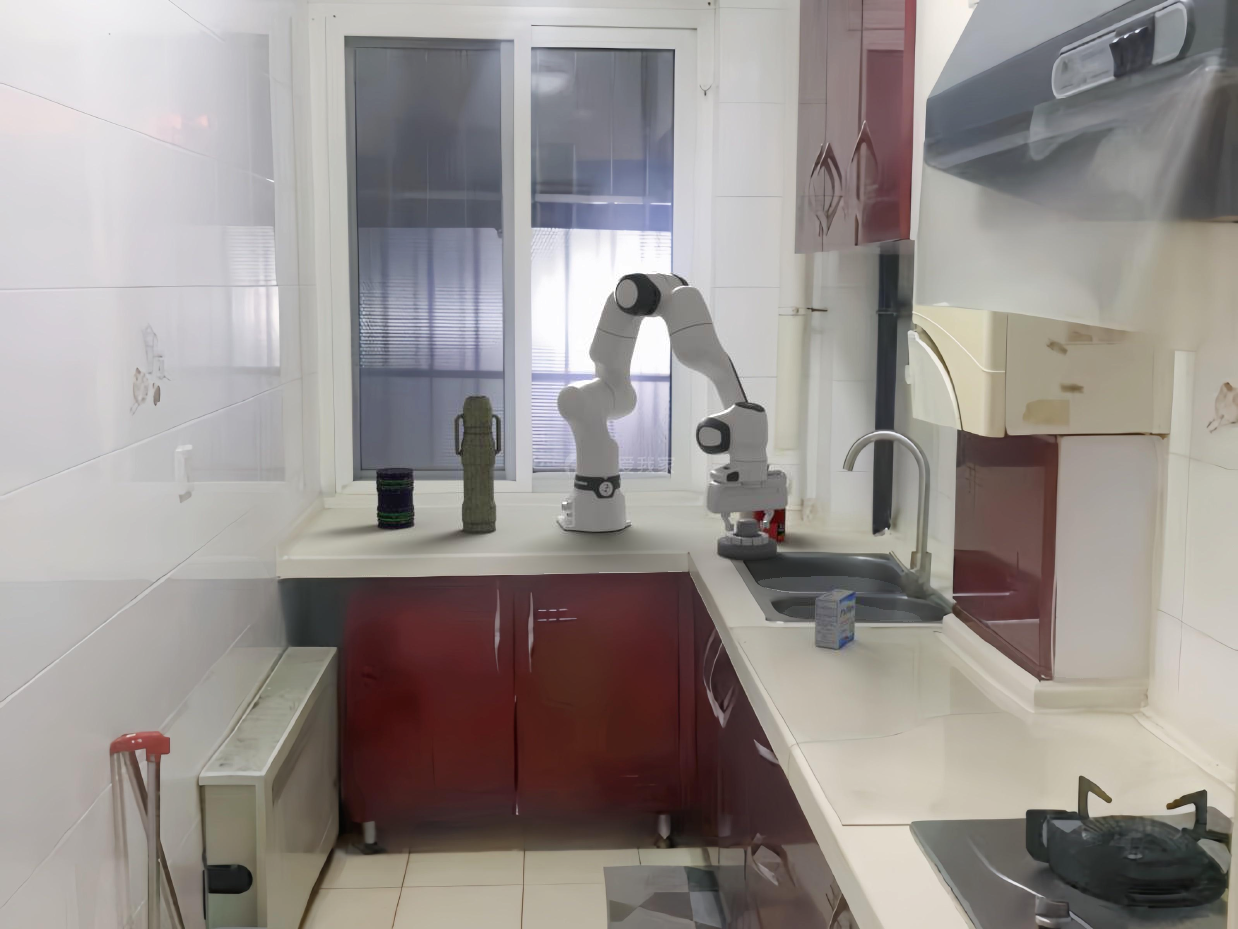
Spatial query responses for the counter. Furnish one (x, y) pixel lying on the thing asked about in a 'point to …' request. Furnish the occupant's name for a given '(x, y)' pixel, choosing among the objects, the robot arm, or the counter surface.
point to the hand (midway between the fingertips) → (747, 529)
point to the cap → (747, 528)
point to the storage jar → (395, 498)
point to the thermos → (478, 463)
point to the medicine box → (835, 618)
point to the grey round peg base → (747, 547)
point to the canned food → (773, 524)
